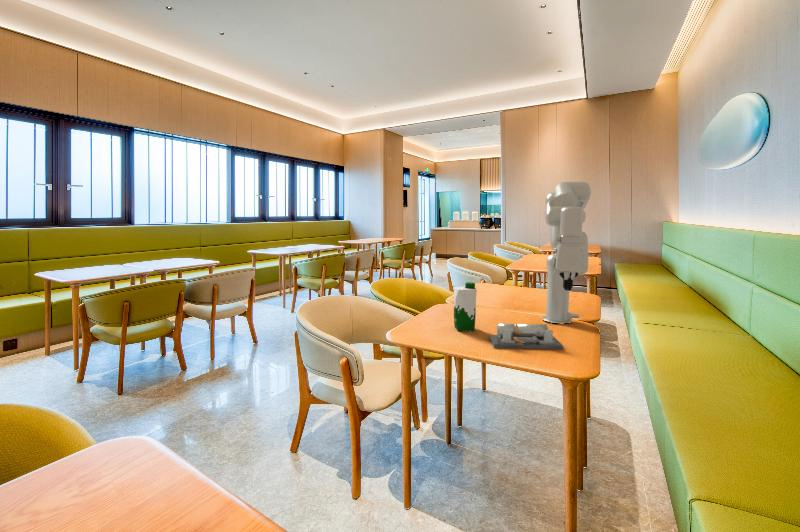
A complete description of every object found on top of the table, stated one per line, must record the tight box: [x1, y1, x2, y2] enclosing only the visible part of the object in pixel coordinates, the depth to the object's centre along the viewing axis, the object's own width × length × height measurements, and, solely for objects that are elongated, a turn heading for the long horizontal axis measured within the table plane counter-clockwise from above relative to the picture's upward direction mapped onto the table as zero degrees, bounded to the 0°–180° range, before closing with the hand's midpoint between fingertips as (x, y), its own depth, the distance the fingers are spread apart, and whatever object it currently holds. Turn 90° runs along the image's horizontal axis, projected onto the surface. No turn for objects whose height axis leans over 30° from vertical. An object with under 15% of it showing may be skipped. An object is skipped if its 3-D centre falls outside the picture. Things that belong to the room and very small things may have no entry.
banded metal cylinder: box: [496, 322, 549, 338], centre depth 155 cm, size 18×5×5 cm, turn 86°
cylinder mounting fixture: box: [488, 329, 564, 351], centre depth 155 cm, size 25×12×6 cm, turn 86°
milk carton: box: [453, 281, 477, 332], centre depth 174 cm, size 9×9×20 cm
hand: (567, 289), depth 152 cm, fingers closed
